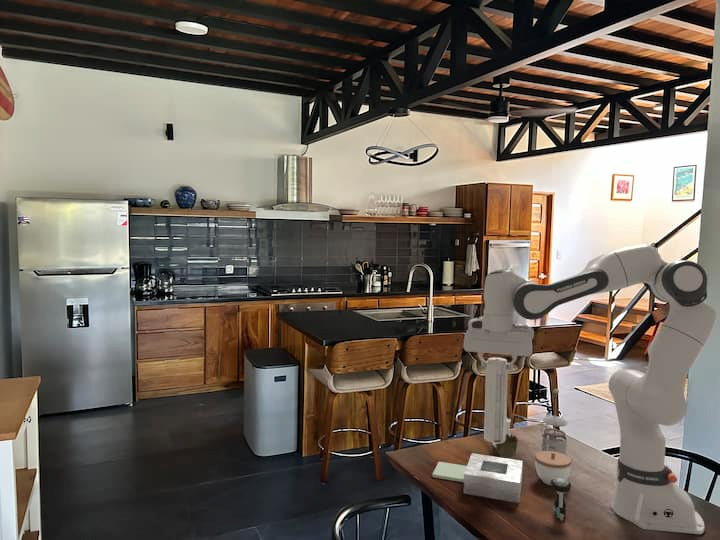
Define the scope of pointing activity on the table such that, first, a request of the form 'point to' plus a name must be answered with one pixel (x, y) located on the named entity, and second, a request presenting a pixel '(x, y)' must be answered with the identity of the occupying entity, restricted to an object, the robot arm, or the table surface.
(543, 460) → the lidded jar
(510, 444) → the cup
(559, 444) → the french press
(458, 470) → the pad
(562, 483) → the push button
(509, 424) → the vase
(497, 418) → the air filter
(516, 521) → the table surface
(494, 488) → the bore block
